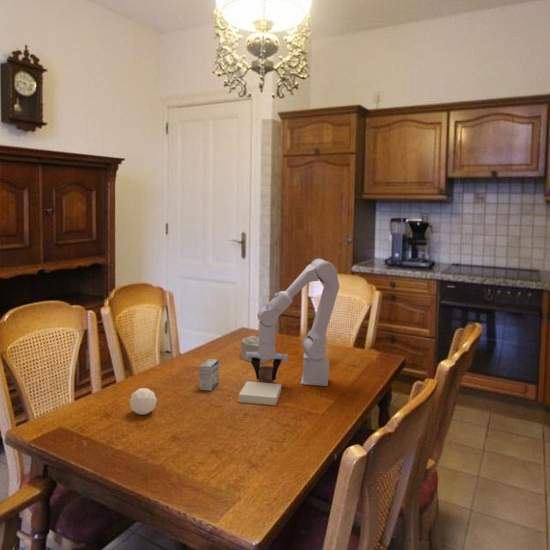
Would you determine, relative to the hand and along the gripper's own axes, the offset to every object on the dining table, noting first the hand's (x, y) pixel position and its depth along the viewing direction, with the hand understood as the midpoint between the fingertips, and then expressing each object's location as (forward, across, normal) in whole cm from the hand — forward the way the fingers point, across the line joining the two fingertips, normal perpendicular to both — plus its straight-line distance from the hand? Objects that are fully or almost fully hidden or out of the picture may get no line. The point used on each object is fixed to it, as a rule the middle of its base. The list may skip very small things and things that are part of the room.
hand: (266, 379), depth 174 cm
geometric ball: (+2, -32, -30) cm, 45 cm away
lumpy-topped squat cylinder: (+2, -9, +28) cm, 29 cm away
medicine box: (+2, -19, -6) cm, 20 cm away
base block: (+2, 0, -11) cm, 11 cm away
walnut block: (+2, 0, 0) cm, 2 cm away
